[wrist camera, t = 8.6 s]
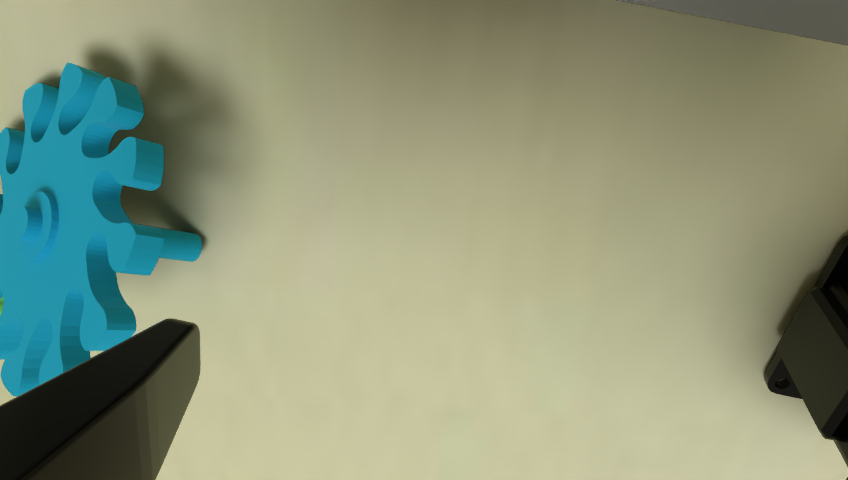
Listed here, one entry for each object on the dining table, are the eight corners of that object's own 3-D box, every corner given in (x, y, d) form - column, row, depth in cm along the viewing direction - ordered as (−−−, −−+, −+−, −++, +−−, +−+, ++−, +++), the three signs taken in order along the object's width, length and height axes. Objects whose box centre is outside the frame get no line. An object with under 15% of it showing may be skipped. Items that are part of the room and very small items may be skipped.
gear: (98, -12, 18) (134, 337, 15) (263, 63, 23) (316, 340, 20) (-69, 161, 24) (-69, 444, 21) (92, 193, 29) (112, 426, 25)
